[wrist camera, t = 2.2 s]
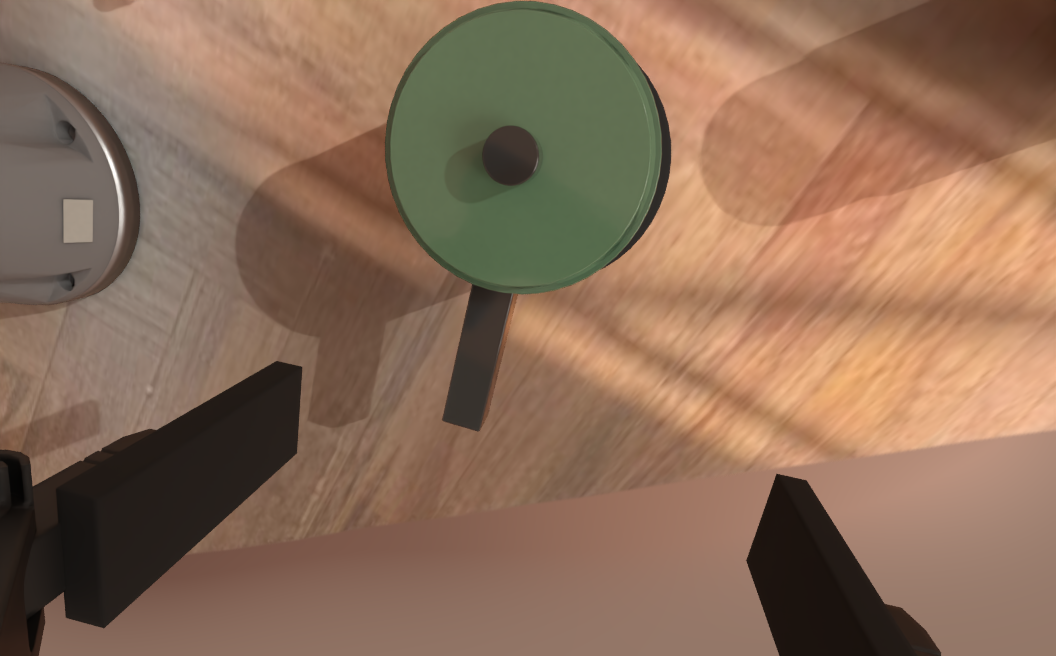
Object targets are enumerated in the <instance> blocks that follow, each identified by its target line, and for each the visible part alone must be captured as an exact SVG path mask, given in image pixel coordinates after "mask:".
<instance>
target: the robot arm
mask: <svg viewBox="0 0 1056 656" xmlns="http://www.w3.org/2000/svg"><path fill="white" fill-rule="evenodd" d="M139 224H140V202H139V194H138V188H137V183H136V179H135V175H134V172H133V169H132V166H131V163H130V160H129V158H128V156H127V153H126V151H125V149H124V147H123V145H122V143H121V141H120V139H119V138H118V136H117V134H116V133H115V131H114V130H113V128H112V127H111V125H110V124H109V122H108V121H107V120H106V118H105V117H104V116H103V115H102V114H101V112H100V111H99V110H98V109H97V108H96V107H95V106H94V105H93V104H92V103H91V102H90V101H89V100H88V99H87V98H86V97H85V96H84V95H82V94H81V93H80V92H79V91H77V90H76V89H75V88H73V87H72V86H70V85H69V84H67V83H66V82H64V81H62V80H60V79H59V78H57V77H55V76H53V75H50V74H48V73H46V72H43V71H40V70H37V69H33V68H28V67H23V66H18V65H12V64H6V63H1V62H0V302H2V303H15V304H27V305H50V304H58V303H63V302H67V301H71V300H75V299H80V298H84V297H87V296H90V295H93V294H95V293H97V292H99V291H101V290H103V289H104V288H106V287H107V286H109V285H110V284H111V283H112V282H113V281H115V279H116V278H117V277H118V276H119V275H120V274H121V273H122V271H123V270H124V269H125V267H126V266H127V264H128V262H129V260H130V258H131V256H132V254H133V251H134V248H135V245H136V242H137V238H138V232H139ZM301 379H302V367H301V366H296V365H292V364H287V363H283V362H279V361H276V362H274V363H272V364H271V365H269V366H267V367H265V368H264V369H262V370H260V371H259V372H257V373H255V374H253V375H252V376H250V377H248V378H246V379H245V380H243V381H241V382H239V383H238V384H236V385H234V386H233V387H231V388H229V389H227V390H226V391H224V392H222V393H220V394H219V395H217V396H215V397H213V398H212V399H210V400H208V401H206V402H205V403H203V404H201V405H200V406H198V407H196V408H194V409H193V410H191V411H189V412H187V413H186V414H184V415H182V416H180V417H179V418H177V419H175V420H173V421H172V422H170V423H168V424H167V425H165V426H163V427H161V428H160V429H158V430H153V429H148V430H144V431H141V432H138V433H135V434H131V435H128V436H125V437H122V438H120V439H119V440H117V441H115V442H113V443H111V444H110V445H108V446H106V447H104V448H102V450H101V452H100V451H97V452H95V453H93V454H91V455H90V456H88V457H86V458H85V459H84V461H79V462H77V463H75V464H73V465H71V466H70V467H68V468H66V469H64V470H62V471H61V472H59V473H57V474H55V475H53V476H51V477H50V478H48V479H46V480H44V481H42V482H41V483H39V484H37V485H35V486H33V487H32V476H31V465H30V460H29V457H28V456H26V455H24V454H23V453H21V452H16V451H11V450H0V656H39V651H40V646H41V640H42V635H43V630H44V625H45V616H44V606H45V605H47V604H48V603H49V602H51V601H52V600H54V599H55V598H56V597H57V596H58V595H60V594H61V593H63V592H64V600H65V611H66V618H69V619H72V620H76V621H80V622H83V623H87V624H91V625H94V626H98V627H102V628H105V627H106V626H107V625H108V624H109V623H110V622H111V621H112V620H114V619H115V618H116V617H117V616H118V615H119V614H120V613H121V612H122V611H124V610H125V609H126V608H127V607H128V606H129V605H130V604H131V603H132V602H133V601H135V599H137V598H138V597H139V596H140V595H141V594H142V593H143V592H144V591H145V590H146V589H148V588H149V587H150V586H151V585H152V584H153V583H154V582H155V581H157V580H158V579H159V578H160V577H161V576H162V575H163V574H164V573H165V572H167V571H168V570H169V569H170V568H171V567H172V566H173V565H174V564H175V563H176V562H177V561H179V560H180V559H181V558H182V557H183V556H184V555H185V554H186V553H187V552H189V551H190V550H191V549H192V548H193V547H194V546H195V545H196V544H197V543H198V542H200V541H201V540H202V539H203V538H204V537H205V536H206V535H207V534H208V533H209V532H211V531H212V530H213V529H214V528H215V527H216V526H217V525H218V524H219V523H220V522H222V521H223V520H224V519H225V518H226V517H227V516H228V515H229V514H230V513H232V512H233V511H234V510H235V509H236V508H237V507H238V506H239V505H240V504H241V503H243V502H244V501H245V500H246V499H247V498H248V497H249V496H250V495H251V494H252V493H254V492H255V491H256V490H257V489H258V488H259V487H260V486H261V485H262V484H263V483H265V482H266V481H267V480H268V479H269V478H270V477H271V476H272V475H273V474H274V473H276V472H277V471H278V470H279V469H280V468H281V467H282V466H283V465H284V464H285V463H287V462H288V461H289V460H290V459H291V458H292V457H293V456H294V455H295V454H297V442H298V427H299V411H300V395H301ZM746 561H747V564H748V567H749V570H750V572H751V575H752V578H753V581H754V584H755V587H756V590H757V593H758V595H759V598H760V601H761V604H762V607H763V610H764V612H765V616H766V618H767V621H768V624H769V627H770V630H771V633H772V636H773V638H774V641H775V644H776V647H777V650H778V652H779V656H941V652H940V650H939V649H938V648H937V646H936V645H935V643H934V642H933V641H932V639H931V637H930V636H929V634H928V633H927V631H926V630H925V629H924V628H923V627H922V626H921V625H919V624H918V623H917V622H916V621H915V620H914V619H913V618H912V617H911V616H910V615H909V614H907V613H906V611H904V610H903V609H902V608H900V607H896V606H891V605H887V604H884V602H883V601H882V599H881V598H880V596H879V594H878V593H877V591H876V590H875V588H874V586H873V585H872V583H871V582H870V580H869V579H868V577H867V575H866V574H865V572H864V571H863V569H862V568H861V566H860V564H859V563H858V561H857V559H856V558H855V556H854V555H853V553H852V552H851V550H850V549H849V547H848V545H847V544H846V542H845V541H844V539H843V537H842V536H841V534H840V533H839V531H838V529H837V528H836V526H835V525H834V523H833V522H832V520H831V518H830V517H829V515H828V514H827V512H826V510H825V509H824V507H823V506H822V504H821V503H820V501H819V499H818V498H817V496H816V495H815V493H814V492H813V490H812V489H811V487H810V485H809V484H808V482H807V481H806V480H802V479H798V478H793V477H789V476H784V475H780V474H776V477H775V480H774V483H773V486H772V489H771V492H770V495H769V497H768V500H767V503H766V506H765V509H764V512H763V515H762V518H761V520H760V523H759V526H758V529H757V532H756V535H755V538H754V540H753V543H752V546H751V549H750V552H749V555H748V557H747V560H746Z"/></svg>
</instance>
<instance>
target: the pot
mask: <svg viewBox="0 0 1056 656" xmlns="http://www.w3.org/2000/svg"><path fill="white" fill-rule="evenodd" d="M661 158H662V135H661V128H660V121H659V114H658V111H657V107H656V104H655V101H654V97H653V94H652V92H651V90H650V87H649V85H648V83H647V80H646V78H645V76H644V74H643V73H642V71H641V69H640V68H639V66H638V65H637V63H636V61H635V60H634V58H633V57H632V56H631V55H630V53H629V52H628V51H627V50H626V49H625V47H624V46H623V45H622V44H621V43H620V42H619V41H618V40H617V39H616V38H615V37H614V36H613V35H612V34H610V33H609V32H608V31H607V30H606V29H604V28H603V27H601V26H600V25H599V24H597V23H596V22H594V21H593V20H591V19H589V18H587V17H585V16H583V15H581V14H579V13H577V12H575V11H573V10H570V9H567V8H564V7H561V6H558V5H555V4H549V3H543V2H536V1H512V2H505V3H497V4H493V5H490V6H487V7H483V8H480V9H477V10H475V11H472V12H470V13H468V14H466V15H464V16H461V17H460V18H458V19H456V20H455V21H453V22H452V23H450V24H449V25H447V26H445V27H444V28H443V29H442V30H440V31H439V32H438V33H437V34H436V35H435V36H433V37H432V38H431V39H430V40H429V41H428V42H427V43H426V44H425V45H424V47H423V48H422V49H421V50H420V51H419V52H418V53H417V54H416V56H415V57H414V59H413V60H412V62H411V63H410V65H409V66H408V68H407V69H406V71H405V73H404V75H403V77H402V79H401V81H400V83H399V85H398V87H397V89H396V92H395V95H394V98H393V101H392V103H391V107H390V111H389V116H388V120H387V127H386V137H385V161H386V168H387V175H388V180H389V184H390V188H391V192H392V195H393V198H394V201H395V203H396V206H397V208H398V211H399V213H400V215H401V217H402V219H403V221H404V222H405V224H406V226H407V228H408V229H409V231H410V232H411V234H412V235H413V237H414V238H415V239H416V241H417V242H418V243H419V245H420V246H421V247H422V248H423V249H424V250H425V251H426V252H427V253H428V254H429V256H431V257H432V258H433V259H434V260H435V261H436V262H438V263H439V264H440V265H441V266H442V267H444V268H445V269H447V270H448V271H450V272H451V273H453V274H454V275H456V276H457V277H459V278H461V279H463V280H465V281H467V282H469V283H471V284H472V288H471V292H470V297H469V301H468V306H467V310H466V315H465V319H464V324H463V328H462V333H461V337H460V342H459V346H458V351H457V355H456V360H455V364H454V369H453V373H452V378H451V382H450V387H449V391H448V396H447V400H446V405H445V409H444V414H443V418H442V420H443V421H444V422H448V423H451V424H454V425H458V426H461V427H465V428H468V429H471V430H475V431H480V430H481V428H482V426H483V424H484V422H485V420H486V418H487V416H488V413H489V409H490V405H491V401H492V397H493V393H494V389H495V385H496V381H497V377H498V372H499V368H500V364H501V360H502V356H503V352H504V348H505V344H506V340H507V336H508V332H509V328H510V324H511V320H512V316H513V312H514V308H515V304H516V300H517V296H518V294H538V293H544V292H549V291H555V290H558V289H561V288H564V287H567V286H571V285H573V284H575V283H577V282H579V281H582V280H584V279H586V278H588V277H589V276H591V275H592V274H594V273H596V272H597V271H599V270H600V269H602V268H603V267H604V266H606V265H607V264H608V263H609V262H610V261H611V260H613V259H614V258H615V257H616V256H617V255H618V254H619V253H620V252H621V251H622V250H623V249H624V248H625V246H626V245H627V244H628V243H629V242H630V240H631V239H632V238H633V236H634V235H635V233H636V232H637V231H638V229H639V228H640V226H641V224H642V222H643V220H644V218H645V216H646V215H647V213H648V211H649V208H650V205H651V203H652V200H653V197H654V195H655V192H656V188H657V183H658V179H659V175H660V167H661Z"/></svg>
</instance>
